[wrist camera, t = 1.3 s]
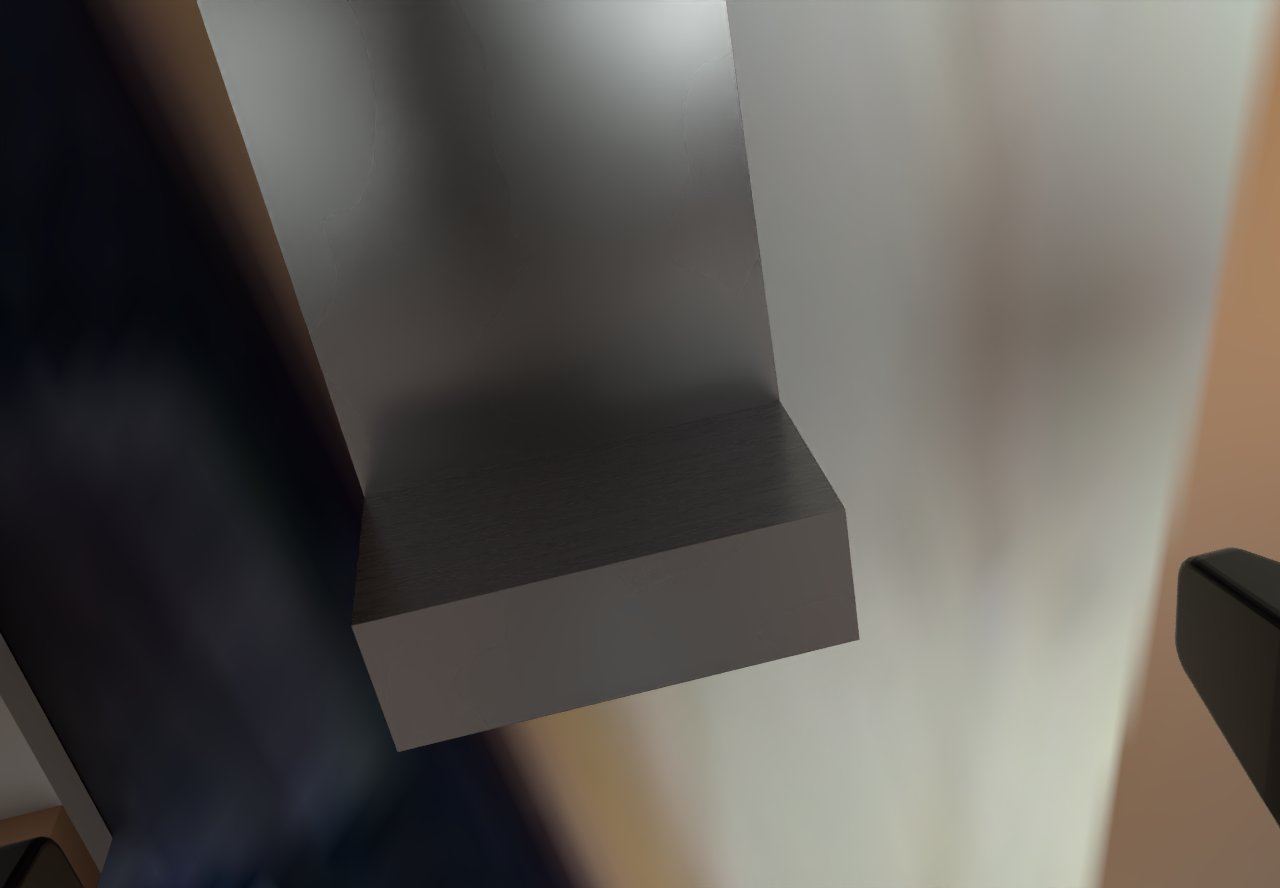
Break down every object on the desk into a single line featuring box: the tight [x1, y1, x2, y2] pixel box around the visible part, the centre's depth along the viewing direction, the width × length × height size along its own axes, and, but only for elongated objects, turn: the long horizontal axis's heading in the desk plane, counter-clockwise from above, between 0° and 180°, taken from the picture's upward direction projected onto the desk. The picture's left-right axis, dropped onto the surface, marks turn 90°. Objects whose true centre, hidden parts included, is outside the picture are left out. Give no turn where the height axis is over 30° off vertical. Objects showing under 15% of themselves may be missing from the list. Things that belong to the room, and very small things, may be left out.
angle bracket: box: [196, 0, 859, 752], centre depth 11 cm, size 7×4×4 cm, turn 10°
